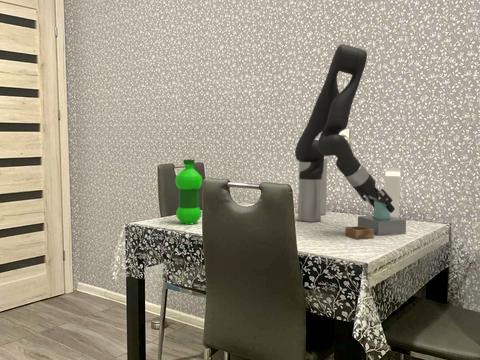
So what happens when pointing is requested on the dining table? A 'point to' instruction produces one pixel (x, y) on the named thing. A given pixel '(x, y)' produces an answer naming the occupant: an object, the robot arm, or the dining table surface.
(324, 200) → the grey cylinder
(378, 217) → the plug
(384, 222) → the port
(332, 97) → the robot arm
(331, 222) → the dining table surface
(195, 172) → the plastic bottle
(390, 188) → the milk
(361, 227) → the brown wooden square frame
